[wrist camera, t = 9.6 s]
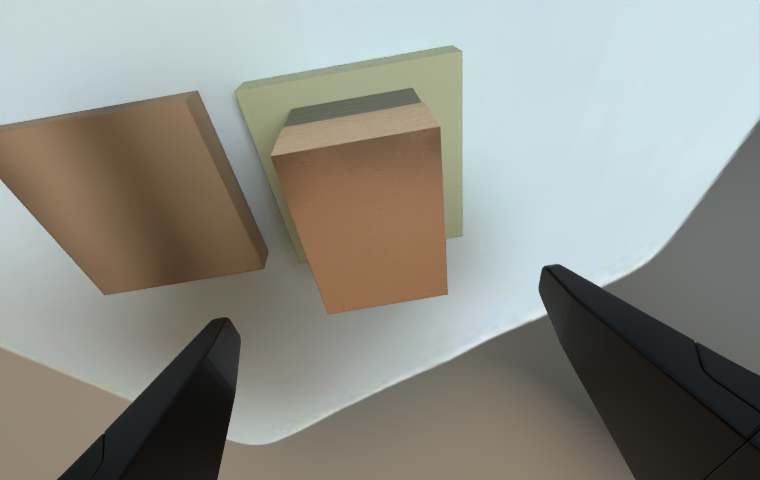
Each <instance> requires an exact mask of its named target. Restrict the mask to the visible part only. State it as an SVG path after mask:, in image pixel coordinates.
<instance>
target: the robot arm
mask: <svg viewBox="0 0 760 480" xmlns="http://www.w3.org/2000/svg"><path fill="white" fill-rule="evenodd" d="M539 293H540V296H541V299H542V301H543V304H544V306H545V308H546V311H547V313H548V316H549V318H550V320H551V323H552V325H553V328H554V330H555V332H556V335H557V337H558V339H559V341H560V343H561V346H562V348H563V350H564V351H565V353H566V355H567V357H568V359H569V360H570V362H571V364H572V366H573V368H574V369H575V371H576V373H577V375H578V377H579V378H580V380H581V382H582V384H583V386H584V387H585V389H586V391H587V393H588V395H589V397H590V398H591V400H592V402H593V404H594V406H595V407H596V409H597V411H598V413H599V414H600V416H601V418H602V420H603V422H604V424H605V425H606V427H607V429H608V431H609V433H610V434H611V436H612V438H613V440H614V442H615V443H616V445H617V447H618V449H619V451H620V452H621V454H622V456H623V458H624V460H625V462H626V463H627V465H628V467H629V469H630V471H631V472H632V474H633V476H634V478H635V480H760V376H759V375H757V374H755V373H753V372H751V371H749V370H747V369H746V368H744V367H742V366H740V365H738V364H736V363H734V362H733V361H731V360H729V359H727V358H725V357H723V356H721V355H720V354H718V353H716V352H714V351H712V350H711V349H709V348H707V347H705V346H703V345H702V344H700V343H698V342H696V343H695V342H694V340H693V339H691V338H689V337H687V336H686V335H684V334H682V333H680V332H679V331H677V330H675V329H673V328H671V327H670V326H668V325H666V324H664V323H662V322H661V321H659V320H657V319H656V318H654V317H652V316H650V315H648V314H647V313H645V312H643V311H641V310H640V309H638V308H636V307H634V306H633V305H631V304H629V303H627V302H625V301H624V300H622V299H620V298H618V297H617V296H615V295H613V294H611V293H609V292H608V291H606V290H604V289H602V288H601V287H599V286H597V285H595V284H594V283H592V282H590V281H588V280H587V279H585V278H583V277H581V276H579V275H578V274H576V273H574V272H572V271H571V270H569V269H567V268H565V267H564V266H562V265H559V264H554V265H547V266H544V267H543V268H542V271H541V277H540V282H539ZM240 344H241V339H240V335H239V333H238V332H237V330H236V328H235V327H234V325H233V323H232V322H231V320H230V319H229V318H227V317H224V318H218V319H213V320H212V321H211V322H210V323H209V324H208V325H207V326H206V327H205V328H204V329H203V330H202V331H201V332H200V333H199V334H198V335H197V336H196V337H195V338H194V339H193V340H192V341H191V342H190V343H189V344H188V345H187V346H186V347H185V349H184V350H183V351H182V352H181V353H180V354H179V355H178V356H177V357H176V358H175V359H174V360H173V361H172V362H171V363H170V364H169V365H168V366H167V367H166V368H165V369H164V370H163V371H162V372H161V373H160V375H159V376H158V377H157V378H156V379H155V380H154V381H153V382H152V383H151V384H150V385H149V386H148V387H147V388H146V389H145V390H144V391H143V392H142V393H141V394H140V395H139V396H138V397H137V398H136V399H135V400H134V402H133V403H132V404H131V405H130V406H129V407H128V408H127V409H126V410H125V411H124V412H123V413H122V414H121V415H120V416H119V417H118V418H117V419H116V420H115V421H114V422H113V423H112V424H111V425H110V426H109V428H108V429H107V430H106V431H105V434H102V435H101V436H100V437H99V438H98V439H97V440H96V441H95V442H94V443H93V444H92V445H91V446H90V447H89V448H88V449H87V450H86V451H85V452H84V453H83V454H82V455H81V456H80V457H79V458H78V459H77V460H76V461H75V462H74V463H73V464H72V466H71V467H69V468H68V470H66V471H65V472H64V473H63V474H62V475H61V476H60V477H59V478H58V479H57V480H217V478H218V474H219V469H220V464H221V460H222V455H223V450H224V445H225V441H226V436H227V431H228V427H229V422H230V417H231V413H232V408H233V403H234V398H235V392H236V385H237V374H238V364H239V354H240Z"/></svg>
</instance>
